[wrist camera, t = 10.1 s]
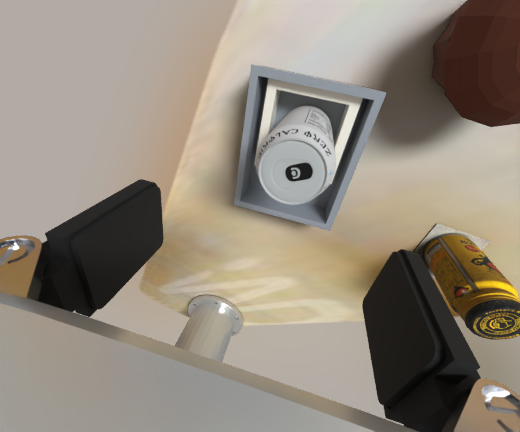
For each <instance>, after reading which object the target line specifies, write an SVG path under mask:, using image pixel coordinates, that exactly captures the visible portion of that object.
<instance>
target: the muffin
mask: <svg viewBox="0 0 520 432" xmlns="http://www.w3.org/2000/svg"><path fill="white" fill-rule="evenodd" d="M433 55H434V64H433V71H432V78H433V79H434V80H435V81H436V82H437V83H438V84H440V85H441V86H442V88H443V89H444V91H445V95H446V97H447V98H448V99H449V101H450V102H451V103H452V105H453V106H454V107H455V109H456V110H457V111H458V113H459V114H460V116H461V117H463V118H466V119H469V120H472V121H475V122H478V123H481V124H484V125H487V126H490V127H494V126H502V125H510V124H518V123H520V0H467V1H466V2H465V3H464V4H463V5H462V6H461V7H460V8H459V9H458V10H456V11H455V13H454V15H453V17H452V18H451V20H450V22H449V24H448V26H447V27H446V29H445V31H444V32H443V34H442V35H441V36H440V38H439V39H438V40H437V42H436V43H435V44H434V46H433Z"/></svg>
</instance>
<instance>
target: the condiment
mask: <svg viewBox="0 0 520 432" xmlns="http://www.w3.org/2000/svg"><path fill="white" fill-rule="evenodd" d="M489 243H491V241H488V240H485V239H482V238H479V237H477V236H474V235H471V234H468V233H465V232H462V231H459V230H456V229H453V228H450V227H447V226H444V225H441V224H438V223H437V225H436V226H435V227H434V228H433V229H432V230H431V231H430V233H429V234H428V235H427V236H426V237H425V238H424V240H423V241H422V242H421V243H420V245H419V246H418V247H417V249H416V250H415V252H414V253H417V254H419V255H420V256H421V258H422V260H423V262H424V263H425V265H426V267H427V269H428V271H429V273H430V275H431V276H432V278H435V279H436V280H437V282H438V284H439V285H440V287H441V289H442V291H443V293H444V294H445V296H446V298H447V300H448V302H449V304H450V306H451V307H452V308H453V310H454V311H455V312H457V313H458V314H460V316H461V318H462V319H463V320H464V322H465V324H466V326H467V328H469V330H471V332H473V333H474V334H476V335H478V336H481V337H483V338H488V339H497V340H498V339H509V338H513V337H517V336H519V335H520V299H519V297H518V293H517V291H516V289H515V288H514V287H513V286H512V285H511V283H510V282H509V281H508V280H507V279H506V278H505V277H504V276H503V275H502V273H501V272H500V271H499V270H498V269H497V268H496V267H495V266H494V265H493V264H492V262H491V261H490V260H489V259H488V257H487V256H486V255H485V254H484V253H483V251H482V250H483V249H484V248H485V247H486V246H487V245H488V244H489ZM421 254H422V255H421Z"/></svg>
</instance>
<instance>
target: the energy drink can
mask: <svg viewBox="0 0 520 432" xmlns="http://www.w3.org/2000/svg"><path fill="white" fill-rule="evenodd" d="M256 170H257V174H258V177H259V180H260V183H261V185H262V187H263V189H264V190H265V192H266V193H267V194H268V195H269V196H270V197H272V198H273V199H274V200H276V201H278V202H281V203H284V204H289V205H299V204H303V203H306V202H309V201H311V200H312V199H314V198H315V197H317V196H318V195H320V194H321V193H322V192H323V191H324V190H325V189H326V188H327V187H328V186H329V184H330V183H331V181H332V179H333V177H334V174H335V170H336V155H335V148H334V141H333V134H332V127H331V123H330V120H329V118H328V116H327V115H326V114H325V112H323V111H322V110H321V109H319V108H317V107H315V106H311V105H304V106H300V107H297V108H295V109H293V110H292V111H290V112H289V113H288V114H287V115H286V116H285V117H284V118H283V119H282V121H281V122H280V123H279V124H278V125H277V126H276V127H275V128H274V129H273V130H272V131H271V132H270V133H269V134H268V135H267V137H266V138H265V139H264V140H263V142H262V143H261V145H260V147H259V149H258V152H257V156H256Z"/></svg>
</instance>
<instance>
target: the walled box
mask: <svg viewBox="0 0 520 432" xmlns="http://www.w3.org/2000/svg"><path fill="white" fill-rule="evenodd" d="M385 96H386V92H383V91H380V90H376V89H371V88H367V87H362V86H357V85H352V84H347V83H342V82H337V81H333V80H328V79H323V78H318V77H313V76H308V75H304V74H299V73H294V72H289V71H284V70H279V69H275V68H270V67H265V66H258V65H251V73H250V80H249V88H248V96H247V104H246V111H245V119H244V127H243V135H242V142H241V150H240V158H239V166H238V174H237V181H236V189H235V197H234V205H237V206H240V207H244V208H248V209H251V210H255V211H259V212H262V213H266V214H270V215H273V216H277V217H281V218H285V219H288V220H292V221H296V222H299V223H303V224H307V225H310V226H314V227H318V228H321V229H325V230H329V231H330V230H331V227H332V225H333V222H334V220H335V218H336V215H337V213H338V210H339V208H340V205H341V203H342V201H343V198H344V196H345V193H346V191H347V188H348V186H349V183H350V181H351V179H352V176H353V174H354V171H355V169H356V166H357V164H358V162H359V159H360V157H361V154H362V152H363V149H364V147H365V145H366V142H367V140H368V137H369V135H370V132H371V130H372V127H373V125H374V123H375V120H376V118H377V115H378V113H379V110H380V108H381V106H382V103H383V101H384V98H385ZM304 105H311V106H315V107H317V108H319V109H321V110H322V111H323V112H325V114H326V115H327V116H328V118H329V120H330V123H331V127H332V134H333V141H334V148H335V155H336V170H335V174H334V177H333V179H332V181H331V183H330V184H329V186H328V187H327V188H326V189H325V190H324V191H323V192H322V193H321V194H320V195H318V196H317V197H315V198H314V199H312V200H311V201H309V202H306V203H303V204H299V205H289V204H284V203H281V202H278V201H276V200H274V199H273V198H272V197H270V196H269V195H268V194H267V193H266V192H265V190H264V189H263V187H262V185H261V183H260V180H259V177H258V174H257V170H256V156H257V152H258V149H259V147H260V145H261V143H262V142H263V140H264V139H265V138H266V137H267V135H268V134H269V133H270V132H271V131H272V130H273V129H274V128H275V127H276V126H277V125H278V124H279V123H280V122H281V121H282V119H283V118H284V117H285V116H286V115H287V114H288V113H289V112H290V111H292V110H293V109H295V108H297V107H300V106H304Z"/></svg>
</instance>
